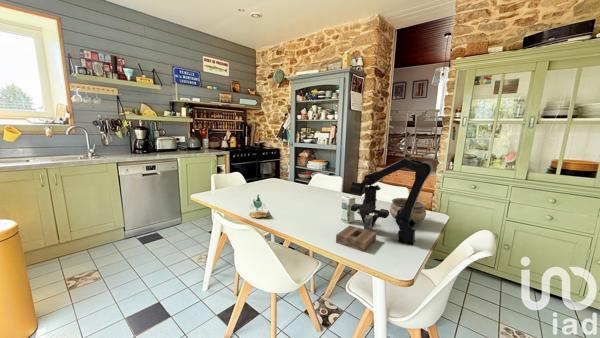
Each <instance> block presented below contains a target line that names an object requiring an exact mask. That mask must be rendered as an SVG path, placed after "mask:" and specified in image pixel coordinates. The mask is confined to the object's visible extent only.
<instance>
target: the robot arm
mask: <svg viewBox="0 0 600 338" xmlns="http://www.w3.org/2000/svg"><path fill="white" fill-rule="evenodd" d="M403 168H407V169H408V170H411V171H413V172H415V173H414V182H413V184H412V186H411V189H410V190H409V193H408V196H407V197H406V198H407V201H406V203H405V206H404V208H402V207H401V208H400V209H399V210H398V212H397V215H396V217H395V218H396V219H395V218H394V219H395V223H396V224H397V226H398V229H399V230H398V232H397V233H398V234H397V239H398V240H397V242H398V243H401V244H403V245H404V244H405V245H408V246H413V245H414V244H415V242H416V239H415V237H416V229H415V228H416V226H417V223H415V222H414V221H413V219H412V216H413V208H414V206H415V204H416V201H417V200H419V199H418V198H419V197H420V193H421V191H422V188H423V186H424V184H425V182H426V181H427V179H428V178H429V177H430V175H431V174H432V172H433V170H434V164H433V163H432V162H431V161H425V160H424V161H421V160H416V159H412V158H409V157H404V158H401V159H400V160H398V161H397V162H395V163H392V164H391V165H388V166H386V167H384V168H383V169H380V170H377V171H372V172H370V173H367V174H365V175H364V177H363V180H362V181H361V182H358V181H352V182H351V185H350V188H349V194H351V195H354V196H359V197H361V196H364V197H363V201H362V203H356V202H355V204H354V205H352V206H351V211H355V212H354V213H356V214H358V215H359V216H360V218H361V221H362V223H363V225H364V218H365V217H366V216H368V215H373V216H372V217H373V221H372V227H373V228H374V227H375V224H376V222H377V220H378V219H379V218H382V219H387V218H388V217H389V216H390V210H388V209H384V208H381V209H379V210H378V209H377V206H376V202H377V191H380V190H382V188H381V187H380V186H379V185H378V184H377V183H378V182H379V181H381V180H382V179H384V178H385V177H387V176H388V175H390V174H394V173H395V172H398V171H399V170H402V169H403ZM375 184H376V185H375Z"/></svg>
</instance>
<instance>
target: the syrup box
mask: <svg viewBox="0 0 600 338" xmlns="http://www.w3.org/2000/svg"><path fill="white" fill-rule="evenodd" d="M355 203H356V197H354V196H350V195H344V196H342V197H341V210H340V221H341V222H343V223H346V224H350V223H353V222H355V213H356V212H355V211H351V206H352V205H354V204H355Z"/></svg>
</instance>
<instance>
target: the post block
mask: <svg viewBox="0 0 600 338" xmlns="http://www.w3.org/2000/svg"><path fill="white" fill-rule="evenodd" d="M375 241H377V232H376V231H373V230H372V231H369V230H365V229H364V228H361V227H358V226H357V227H356V226H355V225H347V227H345V228H344V229H342V230H341V231H339V232H338V233H336V235H335V243H336V244H339V245H342V246H345V247H347V248H351V249H355V250H358V251H361V252H363V253H365V252H366V251H367V250H368V249H369V248H370V247H371V246H372V245H373V244H374V243H375Z"/></svg>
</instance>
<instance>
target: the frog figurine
mask: <svg viewBox="0 0 600 338" xmlns="http://www.w3.org/2000/svg"><path fill="white" fill-rule="evenodd" d="M252 204H253V205H252ZM252 204H250V206H251V208H256V209H255V211H253V212H249V213H250V214H249V213H248V214H249V216H250V217H251V218H254V219H255V218H264V217H265V218H266V217H267V219H273V216H272V214H271V213H270V210H269V209H268V210H267V211H264V209H266V207H264V206H266V205H265V203H263V202H262V201H261V198H260V194H257V196H256V200H255V199H253V201H252ZM263 207H264V209H263ZM260 208H261V210H259V209H260ZM268 216H269V217H268Z"/></svg>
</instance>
